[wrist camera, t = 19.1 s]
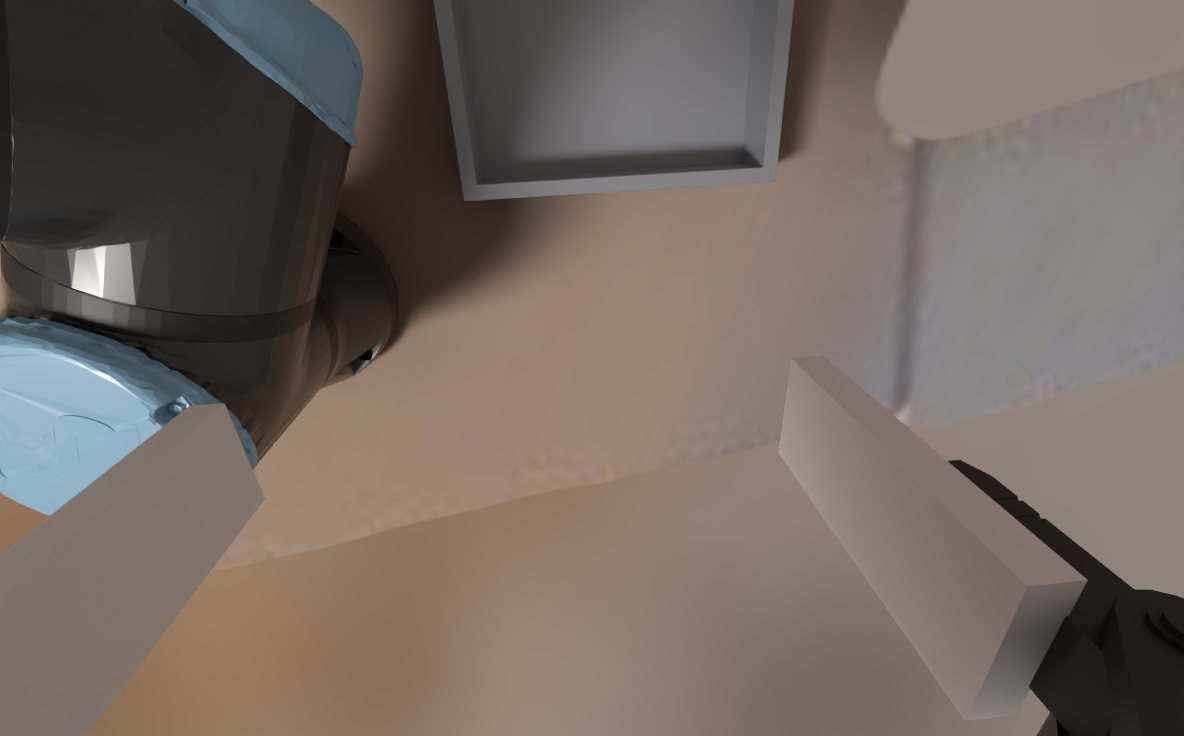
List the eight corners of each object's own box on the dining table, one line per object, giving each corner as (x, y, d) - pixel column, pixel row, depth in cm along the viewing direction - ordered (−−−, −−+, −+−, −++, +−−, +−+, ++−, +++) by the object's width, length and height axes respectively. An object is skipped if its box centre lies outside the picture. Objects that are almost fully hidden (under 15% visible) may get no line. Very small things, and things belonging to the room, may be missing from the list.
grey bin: (473, 192, 40) (464, 201, 35) (429, -111, 32) (410, -150, 27) (750, 175, 41) (775, 181, 36) (774, -122, 33) (810, -161, 28)
